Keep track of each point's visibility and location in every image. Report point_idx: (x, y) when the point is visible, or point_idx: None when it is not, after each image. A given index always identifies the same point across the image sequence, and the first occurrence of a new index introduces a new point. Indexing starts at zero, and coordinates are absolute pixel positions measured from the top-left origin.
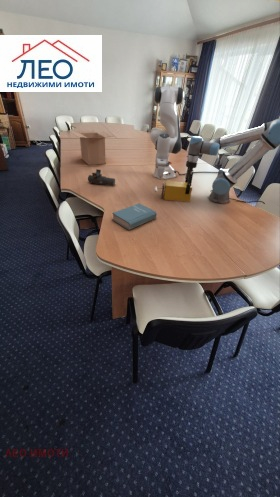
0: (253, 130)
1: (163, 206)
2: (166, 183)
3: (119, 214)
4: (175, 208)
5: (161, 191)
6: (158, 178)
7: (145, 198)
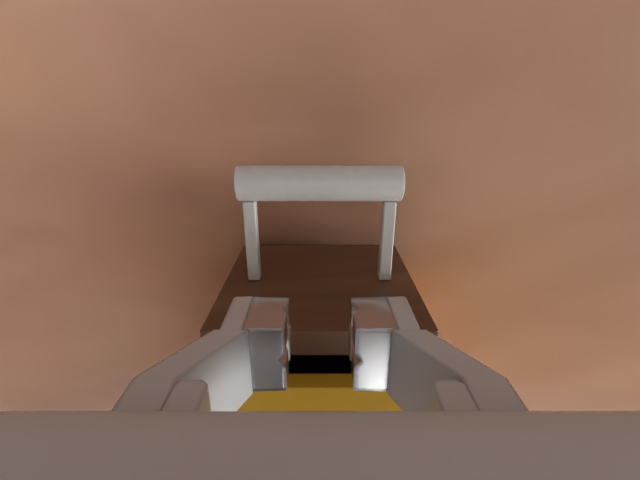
0: None
1: (59, 262)
2: (296, 400)
3: None
4: (68, 365)
5: (249, 269)
6: (272, 306)
7: (200, 30)
